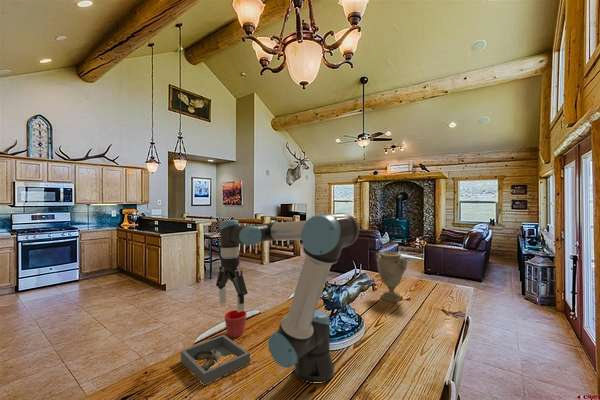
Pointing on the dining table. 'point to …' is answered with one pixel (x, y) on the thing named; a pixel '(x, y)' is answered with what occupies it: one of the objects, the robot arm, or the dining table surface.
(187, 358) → the tray
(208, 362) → the eagle figurine
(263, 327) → the dining table surface
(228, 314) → the flower pot
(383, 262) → the urn
